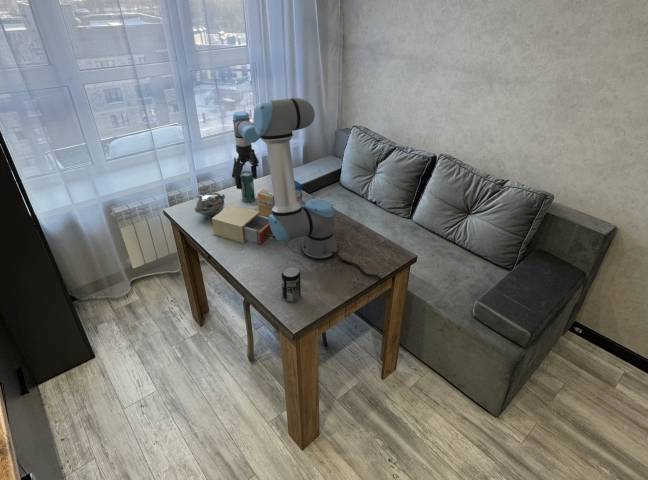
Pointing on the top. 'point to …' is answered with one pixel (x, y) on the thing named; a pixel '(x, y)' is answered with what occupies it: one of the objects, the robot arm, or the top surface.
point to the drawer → (258, 230)
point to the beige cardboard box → (233, 222)
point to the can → (247, 186)
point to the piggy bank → (210, 204)
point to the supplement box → (265, 202)
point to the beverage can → (291, 283)
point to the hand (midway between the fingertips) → (247, 183)
